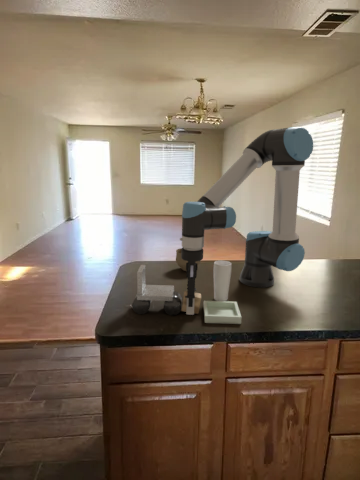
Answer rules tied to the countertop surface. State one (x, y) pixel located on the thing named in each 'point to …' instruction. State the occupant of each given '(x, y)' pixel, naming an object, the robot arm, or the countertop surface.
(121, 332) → the countertop surface
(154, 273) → the countertop surface
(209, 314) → the tray
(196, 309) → the wooden block
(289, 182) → the robot arm
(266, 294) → the countertop surface
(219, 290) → the drinking glass
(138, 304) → the grey toy cart
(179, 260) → the bowl
